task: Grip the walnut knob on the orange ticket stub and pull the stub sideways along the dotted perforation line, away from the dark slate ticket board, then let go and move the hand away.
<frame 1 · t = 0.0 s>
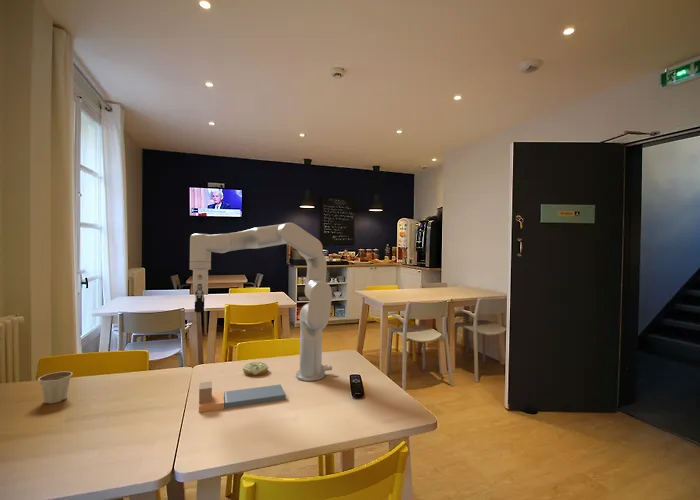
hand: (199, 309, 135), 31 cm above the table, tool pointing down, fingers open, 9 cm apart
flower pot: (55, 400, 124), on the table
ticket board: (247, 399, 128), on the table
decorated donut: (255, 373, 155), on the table
stub: (211, 394, 123), point 4 cm above the table, slide at 0.0 cm
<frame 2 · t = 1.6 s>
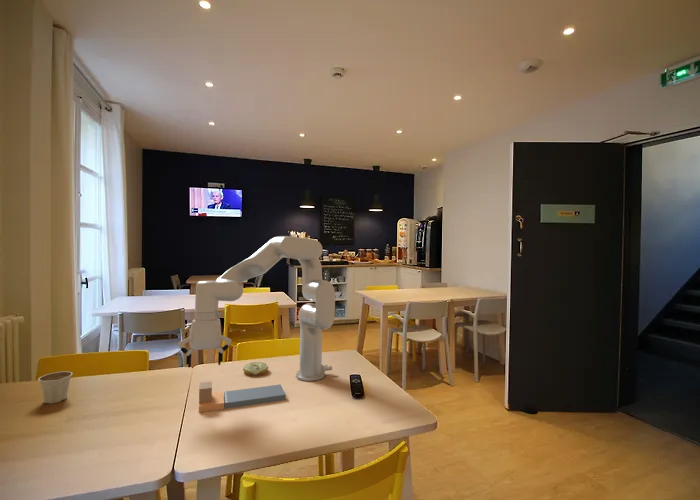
hand: (204, 364, 122), 14 cm above the table, tool pointing down, fingers open, 9 cm apart
nothing on the table moved.
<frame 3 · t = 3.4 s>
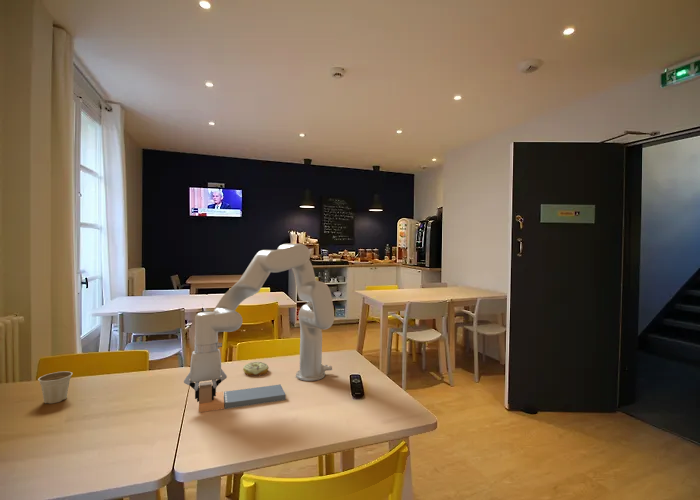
hand: (205, 398, 122), 2 cm above the table, tool pointing down, fingers closed on stub, 4 cm apart
stub: (211, 394, 123), point 4 cm above the table, slide at 0.0 cm, touching gripper
everything else where it was.
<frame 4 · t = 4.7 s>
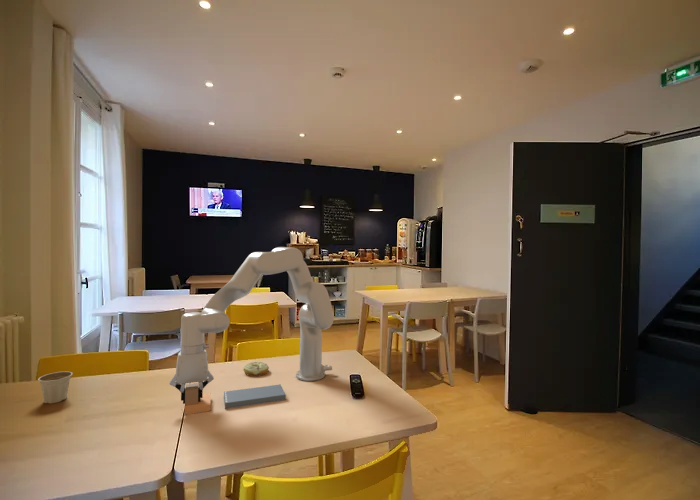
hand: (191, 400, 121), 2 cm above the table, tool pointing down, fingers closed on stub, 4 cm apart
stub: (198, 396, 122), point 4 cm above the table, slide at 4.4 cm, touching gripper
everything else where it was.
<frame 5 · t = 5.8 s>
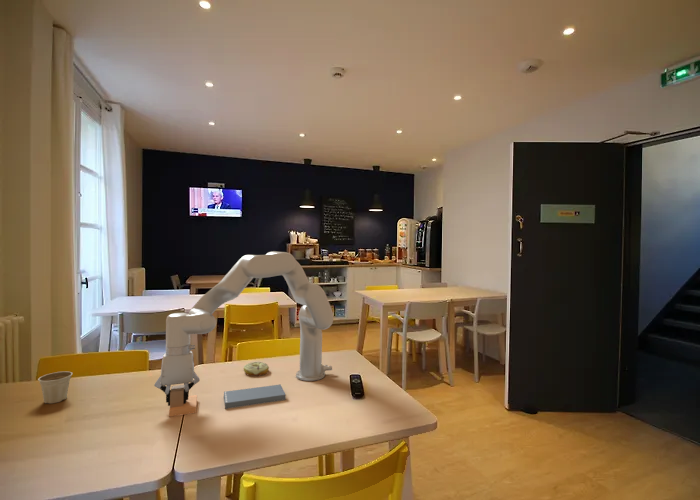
hand: (177, 402, 119), 2 cm above the table, tool pointing down, fingers closed on stub, 4 cm apart
stub: (183, 398, 120), point 4 cm above the table, slide at 8.9 cm, touching gripper
everything else where it was.
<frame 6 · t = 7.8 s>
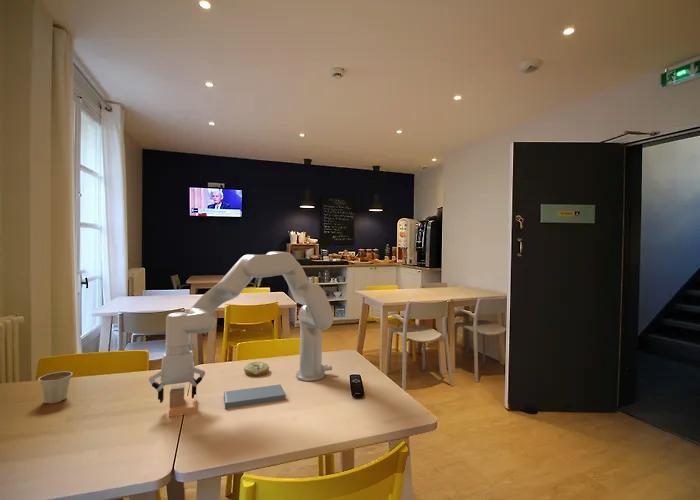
hand: (177, 399, 119), 4 cm above the table, tool pointing down, fingers open, 9 cm apart
stub: (183, 398, 120), point 4 cm above the table, slide at 9.0 cm
everything else where it was.
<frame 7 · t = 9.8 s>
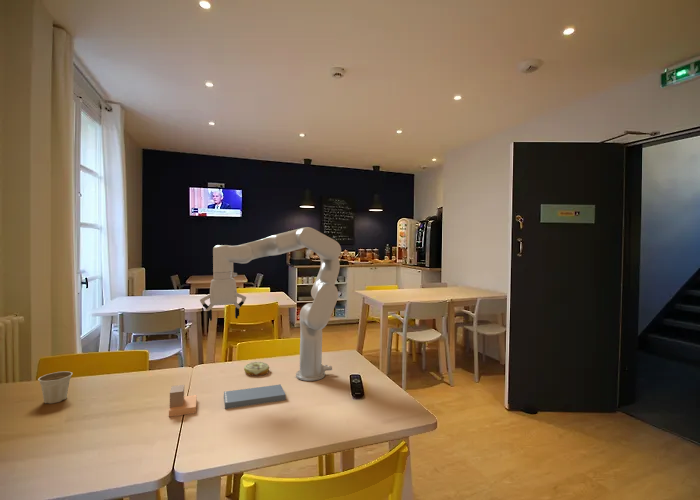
hand: (223, 319, 139), 27 cm above the table, tool pointing down, fingers open, 9 cm apart
nothing on the table moved.
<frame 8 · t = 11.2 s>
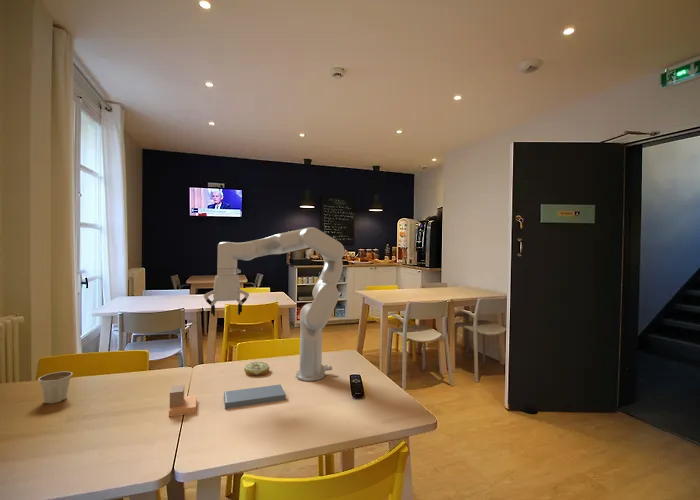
hand: (226, 314, 141), 28 cm above the table, tool pointing down, fingers open, 9 cm apart
nothing on the table moved.
at the end: stub slide at 9.0 cm; decorated donut moved 0.8 cm from its start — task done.
